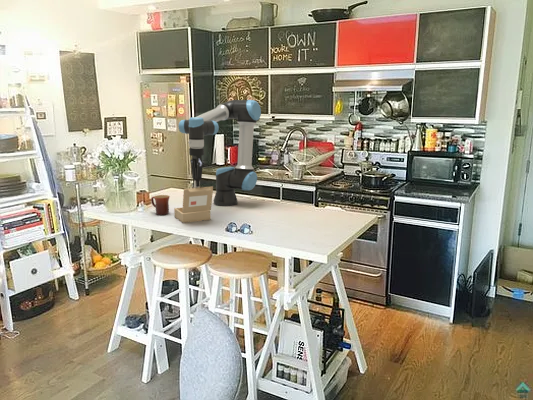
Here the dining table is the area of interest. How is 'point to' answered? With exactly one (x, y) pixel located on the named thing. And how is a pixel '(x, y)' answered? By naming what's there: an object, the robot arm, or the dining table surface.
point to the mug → (161, 204)
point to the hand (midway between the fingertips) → (197, 192)
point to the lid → (197, 199)
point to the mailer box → (191, 215)
